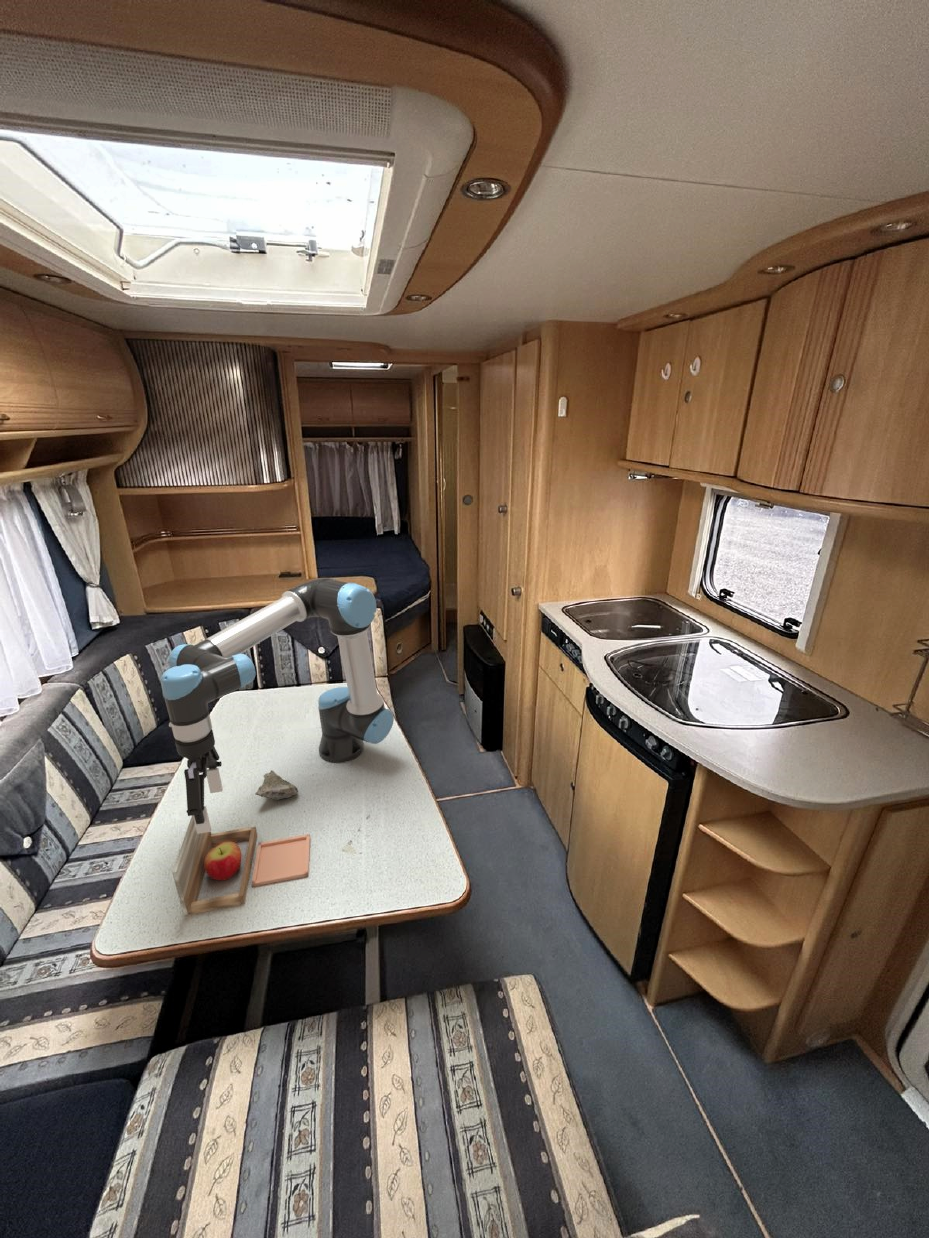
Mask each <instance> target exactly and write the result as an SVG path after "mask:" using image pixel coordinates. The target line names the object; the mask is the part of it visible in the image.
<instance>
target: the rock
mask: <svg viewBox="0 0 929 1238" xmlns="http://www.w3.org/2000/svg"><path fill="white" fill-rule="evenodd" d="M262 777H263V782H262V785H260V786H259V787H258V789H257V791H256V792H255V796H258V797H259V796H260V797H261V798H265V799H271V800H279V801H280V800H281V799H287V798H288V799H289V798H291V797H292V796H295V795H297V794H298V793H299V789H298V787H296V786H295V785H294V784H293V783H291V782H289V781H288V780H284V778H282V777H281V776H280V775H278V774H277V773H276V772H275V771H274V770H272V769H271V770H270V771H269V772H266V773H265V774H264V775H262Z"/></svg>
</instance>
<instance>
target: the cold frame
mask: <svg viewBox="0 0 929 1238" xmlns="http://www.w3.org/2000/svg"><path fill="white" fill-rule="evenodd" d="M257 831H258V830H257V826H255V825H254V826H250V827H244V828H239V829H232V830H226V831H220V832H215V833H212V831H211V832H206V833H200V834H197V831H196V826H195V822H194V818H193V815H192V816H191V818H190V820H189V822H188V826H187V828H186V832H185V834H184V837H183V840H182V843H181V846H180V849H179V850H178V851H179V852H178V855H177V858H176V860H175V863H174V866H173V868H172V871H171V874H172V878H173V881H174V886H175V887H176V892H177V895H178V898H179V902H180V904H181V908H182V912H183V916H188V915H189V916H190V915H194V914H201V913H204V912H210V911H215V910H219V909H224V908H225V909H226V908H229V907H235V906H240V905H241V906H242V905H245V903H246V900H247V894H248V888H249V882H250V877H251V871H252V868H253V861H254V857H255V850H256V845H257V840H258V832H257ZM226 841H230V842H234V843H238V842H244V841H248V845H247V849H246V854H245V860H244V864H243V871H242V876H241V881H240V885H239V891H238V892H236V893H232V894H227V895H222V896H221V895H220V896H216V897H211V898H207V899H201V900H198V897H199V894H200V890H201V887H202V884H203V881H204V878H205V877H204V876H205V873H206V870H205V867H204V860H205V857H206V855H207V853H208V852H209V851H210V850H212V849H213V847H214V846H213V845H215V846H217V845H218V844H220V843H222V842H226ZM212 846H213V847H212Z"/></svg>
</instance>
